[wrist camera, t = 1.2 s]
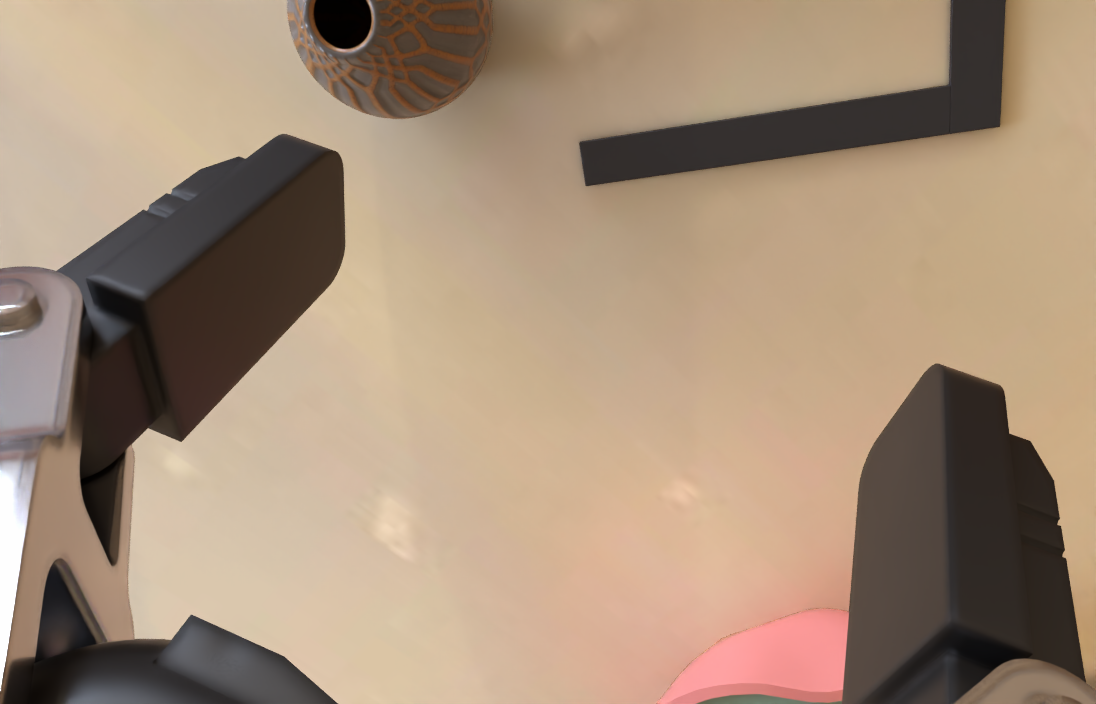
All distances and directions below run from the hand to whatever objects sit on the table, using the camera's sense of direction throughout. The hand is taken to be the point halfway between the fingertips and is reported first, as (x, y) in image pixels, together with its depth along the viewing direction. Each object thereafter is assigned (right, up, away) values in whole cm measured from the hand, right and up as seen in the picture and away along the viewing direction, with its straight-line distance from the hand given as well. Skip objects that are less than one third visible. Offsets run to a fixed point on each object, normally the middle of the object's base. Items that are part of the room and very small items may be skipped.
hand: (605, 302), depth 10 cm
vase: (-6, +13, +21) cm, 25 cm away
